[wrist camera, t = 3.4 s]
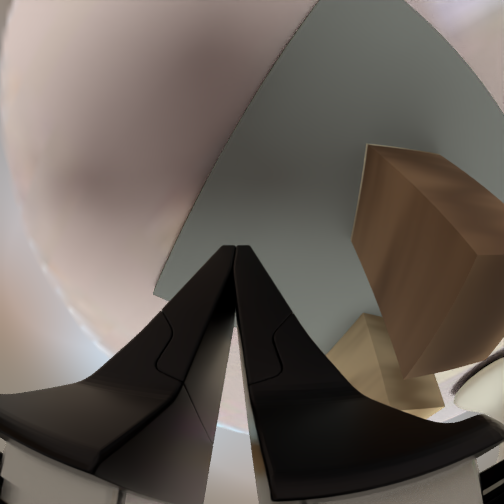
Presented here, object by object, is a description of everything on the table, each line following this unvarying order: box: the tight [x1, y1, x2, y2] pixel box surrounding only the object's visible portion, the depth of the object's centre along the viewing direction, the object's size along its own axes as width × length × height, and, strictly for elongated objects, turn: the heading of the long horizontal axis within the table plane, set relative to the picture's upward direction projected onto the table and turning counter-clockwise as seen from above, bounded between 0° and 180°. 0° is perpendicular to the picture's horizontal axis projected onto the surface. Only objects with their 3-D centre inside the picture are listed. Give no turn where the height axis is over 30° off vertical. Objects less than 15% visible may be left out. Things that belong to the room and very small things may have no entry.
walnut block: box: [350, 143, 504, 380], centre depth 9 cm, size 4×5×8 cm
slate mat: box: [153, 0, 504, 355], centre depth 15 cm, size 20×20×1 cm
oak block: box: [326, 313, 445, 419], centre depth 17 cm, size 5×5×7 cm
